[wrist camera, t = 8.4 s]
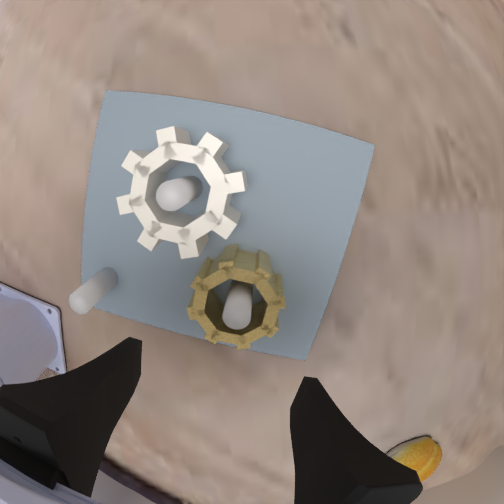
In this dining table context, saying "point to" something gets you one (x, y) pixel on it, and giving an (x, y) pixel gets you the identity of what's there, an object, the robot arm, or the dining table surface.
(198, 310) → the brass gear
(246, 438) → the dining table surface
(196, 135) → the gear board
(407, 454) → the bread roll
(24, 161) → the dining table surface
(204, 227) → the gear
